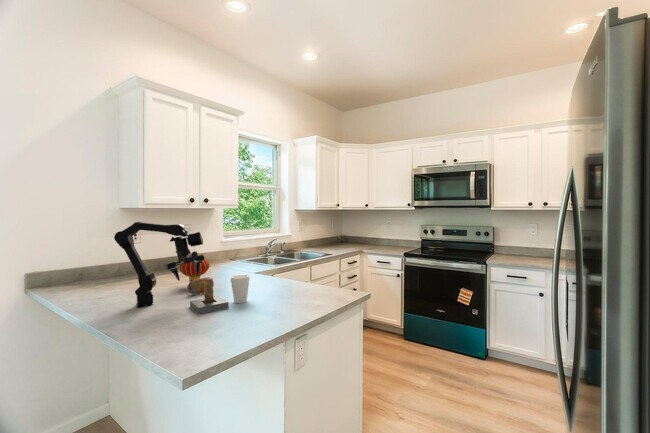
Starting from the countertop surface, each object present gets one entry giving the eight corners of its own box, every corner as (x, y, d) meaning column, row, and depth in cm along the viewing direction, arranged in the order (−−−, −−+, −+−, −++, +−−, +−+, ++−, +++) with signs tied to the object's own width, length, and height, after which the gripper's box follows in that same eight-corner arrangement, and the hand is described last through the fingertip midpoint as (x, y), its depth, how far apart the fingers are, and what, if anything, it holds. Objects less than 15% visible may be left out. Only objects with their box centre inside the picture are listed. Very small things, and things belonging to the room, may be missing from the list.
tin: (189, 296, 172) (189, 281, 172) (186, 295, 174) (186, 280, 174) (214, 290, 184) (213, 276, 184) (211, 289, 186) (210, 275, 186)
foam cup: (244, 304, 157) (244, 278, 156) (227, 303, 159) (227, 278, 158) (252, 299, 166) (252, 274, 166) (236, 298, 168) (236, 274, 168)
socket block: (198, 314, 143) (198, 307, 143) (190, 306, 154) (189, 300, 154) (228, 308, 151) (228, 301, 151) (218, 301, 162) (218, 295, 162)
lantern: (215, 284, 198) (214, 237, 197) (191, 291, 184) (189, 239, 183) (198, 281, 207) (197, 236, 206) (173, 287, 193) (172, 238, 192)
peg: (204, 309, 150) (203, 280, 150) (205, 306, 154) (204, 278, 153) (213, 308, 151) (212, 279, 151) (213, 305, 155) (213, 277, 155)
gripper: (168, 253, 149) (174, 285, 150) (206, 244, 162) (212, 273, 163) (160, 252, 157) (167, 283, 158) (197, 244, 170) (203, 272, 171)
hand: (188, 277), depth 162 cm, fingers open, 9 cm apart
